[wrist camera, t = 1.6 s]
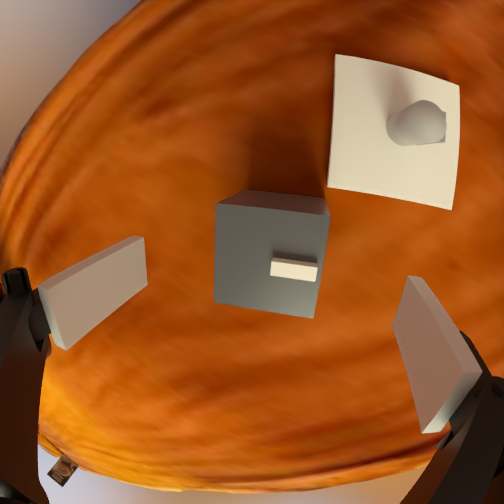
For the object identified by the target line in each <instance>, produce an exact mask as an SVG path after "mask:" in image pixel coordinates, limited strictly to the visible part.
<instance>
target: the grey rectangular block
mask: <svg viewBox="0 0 504 504" xmlns="http://www.w3.org/2000/svg"><path fill="white" fill-rule="evenodd" d="M329 223H330V213H329V210H328V207H327V203H326V200H325V198H319V197H311V196H303V195H295V194H286V193H277V192H267V191H257V190H245V191H242V192H240V193H238V194H236V195H233V196H231V197H229V198H227V199H224V200H222V201H220V202H218V203H216V222H215V260H214V302H217V303H222V304H227V305H233V306H238V307H244V308H250V309H256V310H262V311H268V312H274V313H280V314H287V315H293V316H300V317H307V318H313V316H314V311H315V306H316V301H317V296H318V290H319V285H320V279H321V274H322V268H323V262H324V256H325V250H326V243H327V237H328V230H329Z"/></svg>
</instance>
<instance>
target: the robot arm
mask: <svg viewBox="0 0 504 504" xmlns="http://www.w3.org/2000/svg"><path fill="white" fill-rule="evenodd" d="M1 276H2V280H3V283H4V287H5V289H4V290H3V288H2V285H1V283H0V504H49V500H48V497H47V495H46V492H45V491H44V489H43V487H42V486H41V484H40V481H39V477H38V453H37V452H38V450H37V449H38V446H37V445H38V418H39V405H40V395H41V387H42V379H43V372H44V366H45V360H46V358H47V357H49V356H50V354H51V345H50V341H49V338H48V335H49V334H50V333H51V334H52V337H53V339H54V342H55V344H56V345H57V346H59V347H61V348H62V349H64V350H66V351H67V350H68V349H69V348H70V347H71V346H72V345H74V344H75V343H76V342H77V341H78V340H80V339H81V338H82V337H83V336H84V335H86V334H87V333H88V332H89V331H90V330H92V329H93V328H94V327H95V326H96V325H98V324H99V323H100V322H101V321H103V320H104V319H105V318H106V317H107V316H109V315H110V314H111V313H112V312H114V311H115V310H116V309H117V308H119V307H120V306H121V305H122V304H124V303H125V302H126V301H127V300H129V299H130V298H131V297H132V296H134V295H135V294H136V293H137V292H139V291H140V290H141V289H143V288H144V287H145V286H146V285H148V283H147V273H146V261H145V247H144V237H139V236H131V237H129V238H127V239H124V240H122V241H120V242H118V243H116V244H114V245H112V246H110V247H108V248H106V249H104V250H102V251H100V252H98V253H96V254H94V255H92V256H90V257H88V258H86V259H84V260H82V261H80V262H78V263H76V264H75V265H73V266H71V267H69V268H67V269H65V270H63V271H61V272H60V273H58V274H56V275H54V276H52V277H51V278H49V279H47V280H45V281H43V282H42V283H40V284H38V285H37V288H36V289H35V290H33V291H32V288H31V285H30V281H29V276H28V272H27V269H26V268H23V267H20V268H13V269H11V270H8V271H6V272H5V273H3V274H2V275H1ZM392 328H393V331H394V334H395V337H396V340H397V343H398V346H399V349H400V352H401V355H402V358H403V362H404V365H405V369H406V372H407V375H408V379H409V383H410V386H411V390H412V394H413V398H414V402H415V406H416V410H417V415H418V419H419V424H420V428H421V433H432V432H440V431H441V430H442V428H443V427H444V426H445V425H446V423H447V422H448V421H449V422H450V425H451V430H450V431H449V432H448V433H447V435H446V436H445V437H444V438H443V439H442V440H441V441H440V442H439V444H438V445H437V446H436V447H435V448H436V449H437V448H438V447H439V446H440V447H439V448H438V450H437V452H436V453H435V455H434V456H433V458H432V460H431V461H430V463H429V464H428V466H427V467H426V469H425V470H424V472H423V473H422V475H421V476H420V478H419V479H418V480H417V482H416V483H415V485H414V486H413V487H412V489H411V490H410V491H409V492H408V494H407V495H406V496H405V498H404V499H403V500H402V501H401V503H400V504H504V379H503V378H500V377H496V376H492V375H491V373H490V372H489V370H488V368H487V366H486V365H485V363H484V361H483V359H482V358H481V356H480V355H479V353H478V351H477V349H476V348H475V346H474V344H473V343H472V341H471V340H470V338H469V337H468V336H466V335H465V334H464V333H463V332H462V331H459V330H458V329H457V327H456V326H455V324H454V323H453V321H452V320H451V318H450V316H449V315H448V313H447V312H446V311H445V309H444V308H443V306H442V305H441V303H440V302H439V300H438V299H437V298H436V296H435V295H434V293H433V292H432V291H431V289H430V288H429V286H428V285H427V284H426V282H425V281H424V280H423V278H422V277H417V276H410V275H408V276H407V280H406V283H405V287H404V290H403V293H402V297H401V300H400V303H399V306H398V309H397V312H396V315H395V318H394V321H393V324H392Z"/></svg>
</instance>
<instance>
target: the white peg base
mask: <svg viewBox="0 0 504 504" xmlns="http://www.w3.org/2000/svg"><path fill="white" fill-rule="evenodd" d="M459 135H460V97H459V86H458V85H455V84H453V83H450V82H447V81H445V80H442V79H439V78H436V77H433V76H430V75H427V74H424V73H421V72H418V71H414V70H411V69H407V68H403V67H400V66H396V65H392V64H387V63H383V62H378V61H374V60H369V59H363V58H358V57H352V56H345V55H338V54H336V55H335V60H334V92H333V112H332V128H331V142H330V154H329V165H328V175H327V187H331V188H338V189H345V190H351V191H358V192H364V193H370V194H375V195H381V196H387V197H392V198H397V199H402V200H407V201H412V202H417V203H422V204H426V205H431V206H435V207H440V208H444V209H448V210H452V204H453V198H454V191H455V184H456V175H457V165H458V153H459Z"/></svg>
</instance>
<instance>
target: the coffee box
mask: <svg viewBox="0 0 504 504" xmlns="http://www.w3.org/2000/svg"><path fill="white" fill-rule="evenodd" d="M78 467H79V466H78V465H77V464H76V463H74V462H73V461H72V460H71V459H69V458H68V457H67V456H66V455H65V454H63V455H62V456H61V458H60V459H59V460H58V461H57V462H56V464H55V465H54V466H53V467H52V469H51V470H50V471H49V472H48V474H47V475H49V476H50V477H51V478H52V479H53V480H54V481H55V482H57V483H58V484H59V485H61V486H62V487H63V486H64V485H65V483H66V482H67V481H68V480H69V478H70V477H71V476H72V474H73V473H74V472H75V470H76V469H77V468H78Z"/></svg>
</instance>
